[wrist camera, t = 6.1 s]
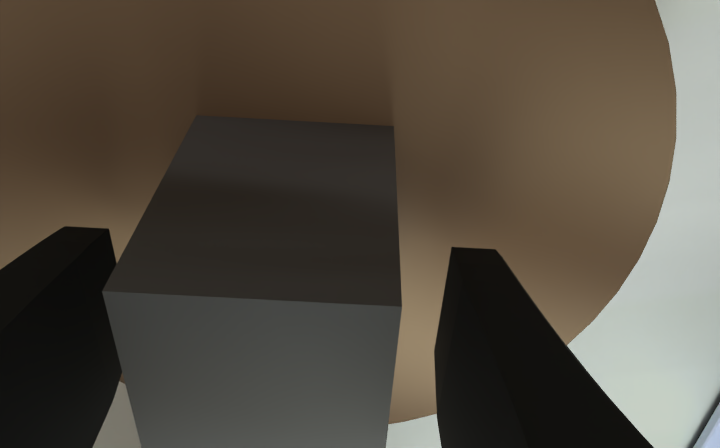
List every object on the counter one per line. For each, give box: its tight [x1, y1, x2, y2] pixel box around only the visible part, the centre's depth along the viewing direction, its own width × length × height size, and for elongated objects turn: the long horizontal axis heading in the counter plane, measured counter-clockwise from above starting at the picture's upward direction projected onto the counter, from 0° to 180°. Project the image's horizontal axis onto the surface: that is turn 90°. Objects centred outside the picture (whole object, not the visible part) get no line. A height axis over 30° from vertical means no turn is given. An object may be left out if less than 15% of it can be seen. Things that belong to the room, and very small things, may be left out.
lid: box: [0, 0, 676, 448], centre depth 9 cm, size 12×12×5 cm
